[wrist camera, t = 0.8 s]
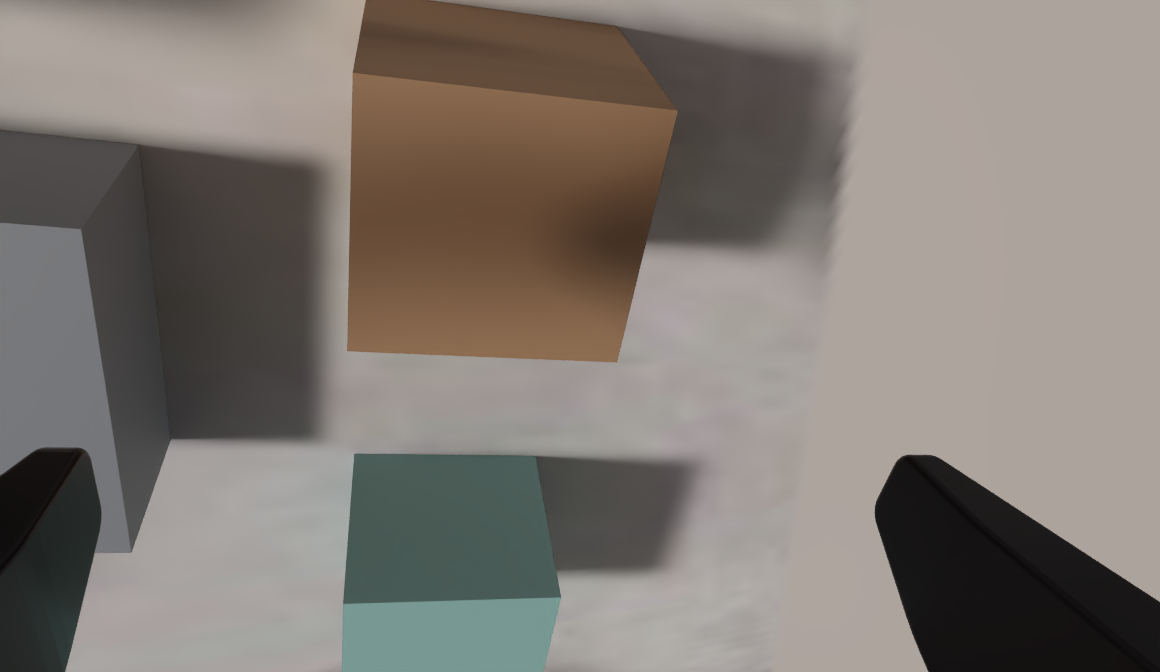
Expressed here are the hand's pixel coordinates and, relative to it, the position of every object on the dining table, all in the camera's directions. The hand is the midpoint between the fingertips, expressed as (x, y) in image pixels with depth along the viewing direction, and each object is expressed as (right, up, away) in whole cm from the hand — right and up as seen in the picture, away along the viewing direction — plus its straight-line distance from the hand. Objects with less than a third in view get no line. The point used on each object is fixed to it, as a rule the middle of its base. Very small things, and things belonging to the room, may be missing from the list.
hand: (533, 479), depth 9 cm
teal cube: (-4, -4, +15) cm, 16 cm away
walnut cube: (-2, +6, +9) cm, 11 cm away
